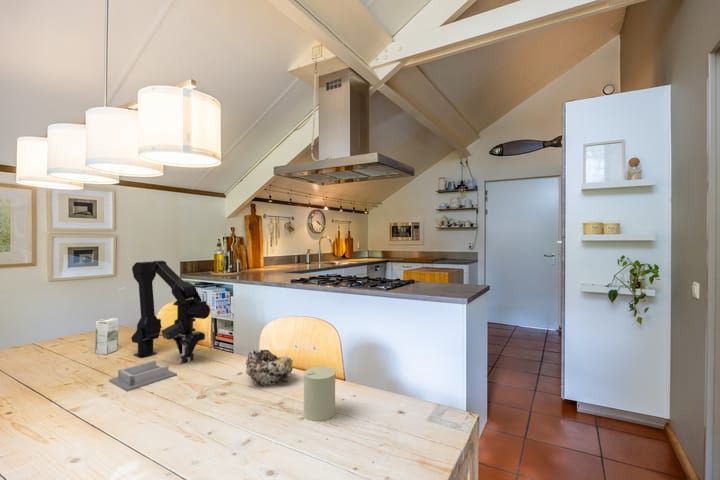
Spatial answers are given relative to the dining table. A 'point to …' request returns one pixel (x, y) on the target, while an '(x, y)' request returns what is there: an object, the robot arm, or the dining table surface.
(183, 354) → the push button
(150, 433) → the dining table surface
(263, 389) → the dining table surface
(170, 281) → the robot arm
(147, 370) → the dock
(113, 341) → the syrup box
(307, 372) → the can
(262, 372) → the mineral specimen
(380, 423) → the dining table surface
